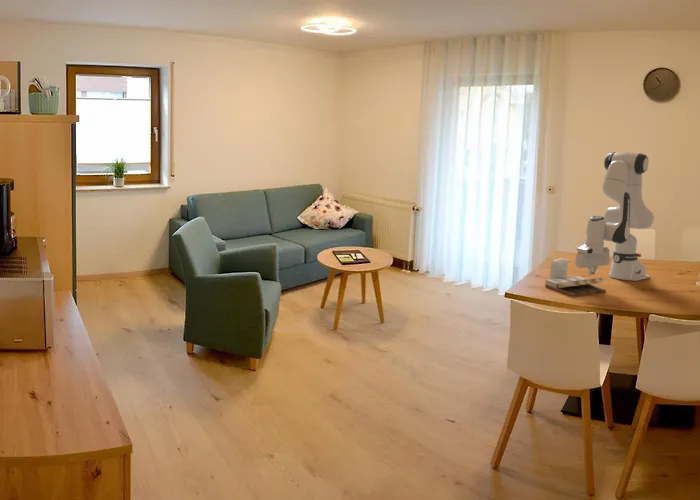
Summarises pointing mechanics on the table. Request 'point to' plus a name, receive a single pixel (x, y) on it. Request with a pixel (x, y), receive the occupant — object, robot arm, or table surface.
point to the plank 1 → (571, 283)
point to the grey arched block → (559, 268)
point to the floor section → (574, 289)
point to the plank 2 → (593, 281)
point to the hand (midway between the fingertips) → (591, 274)
